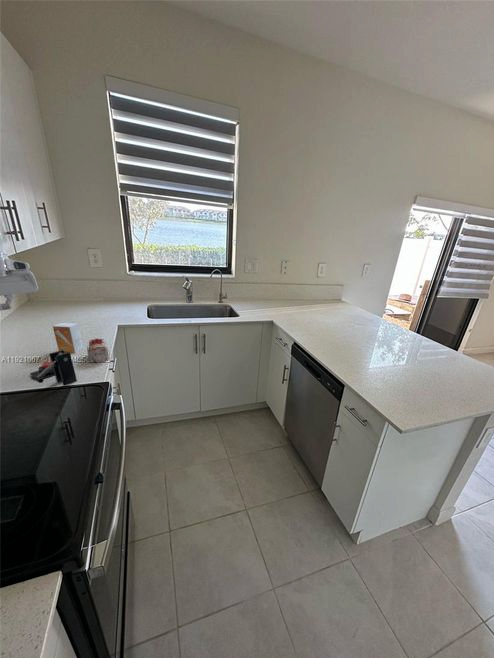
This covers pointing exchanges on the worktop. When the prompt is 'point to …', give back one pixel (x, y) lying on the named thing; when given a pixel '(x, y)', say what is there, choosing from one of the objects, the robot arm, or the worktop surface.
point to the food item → (97, 350)
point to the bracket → (63, 368)
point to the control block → (49, 374)
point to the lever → (45, 371)
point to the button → (46, 364)
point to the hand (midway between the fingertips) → (5, 309)
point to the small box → (68, 337)
